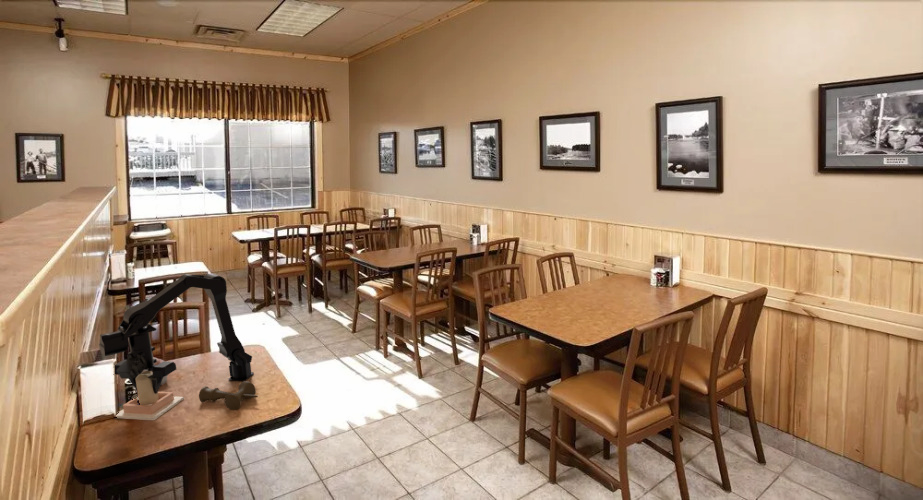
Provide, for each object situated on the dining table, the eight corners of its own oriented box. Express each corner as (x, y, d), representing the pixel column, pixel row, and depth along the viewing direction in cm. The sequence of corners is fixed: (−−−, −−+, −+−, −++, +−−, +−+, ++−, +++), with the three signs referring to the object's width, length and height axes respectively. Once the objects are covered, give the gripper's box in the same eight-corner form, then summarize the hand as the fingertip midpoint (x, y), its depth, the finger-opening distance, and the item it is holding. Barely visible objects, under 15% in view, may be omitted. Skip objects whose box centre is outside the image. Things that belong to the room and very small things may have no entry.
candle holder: (183, 399, 177) (182, 389, 176) (153, 420, 163) (152, 410, 163) (146, 396, 179) (144, 387, 178) (113, 417, 165) (112, 408, 165)
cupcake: (161, 375, 196) (158, 350, 194) (177, 380, 191) (173, 354, 189) (136, 385, 188) (132, 359, 186) (151, 391, 183) (147, 364, 181)
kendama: (213, 395, 180) (266, 397, 177) (194, 410, 171) (250, 412, 168) (210, 379, 179) (264, 381, 175) (191, 393, 170) (248, 395, 166)
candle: (150, 406, 168) (145, 376, 165) (135, 404, 169) (130, 375, 167) (162, 398, 173) (158, 369, 171) (148, 396, 174) (144, 368, 172)
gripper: (93, 356, 161) (102, 403, 164) (148, 358, 158) (156, 406, 161) (122, 342, 171) (129, 387, 175) (174, 344, 168) (180, 389, 172)
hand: (148, 392), depth 170 cm, fingers closed on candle, 5 cm apart
